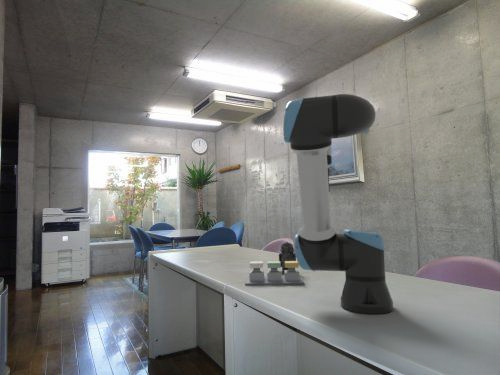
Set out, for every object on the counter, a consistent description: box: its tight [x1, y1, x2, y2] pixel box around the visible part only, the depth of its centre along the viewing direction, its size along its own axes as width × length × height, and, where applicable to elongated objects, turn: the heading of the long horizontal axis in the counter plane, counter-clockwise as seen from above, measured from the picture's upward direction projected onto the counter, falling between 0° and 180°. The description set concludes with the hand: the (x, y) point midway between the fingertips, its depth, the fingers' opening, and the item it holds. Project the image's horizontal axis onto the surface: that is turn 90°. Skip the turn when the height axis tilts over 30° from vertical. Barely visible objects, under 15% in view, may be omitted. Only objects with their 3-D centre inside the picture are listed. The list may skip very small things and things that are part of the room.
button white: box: [249, 260, 264, 273], centre depth 139 cm, size 6×6×5 cm
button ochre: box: [285, 260, 300, 272], centre depth 138 cm, size 6×6×5 cm
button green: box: [267, 260, 282, 272], centre depth 138 cm, size 6×6×5 cm
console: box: [244, 269, 306, 286], centre depth 138 cm, size 24×16×4 cm, turn 87°
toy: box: [278, 241, 297, 275], centre depth 156 cm, size 8×6×15 cm
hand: (324, 210), depth 134 cm, fingers open, 5 cm apart
